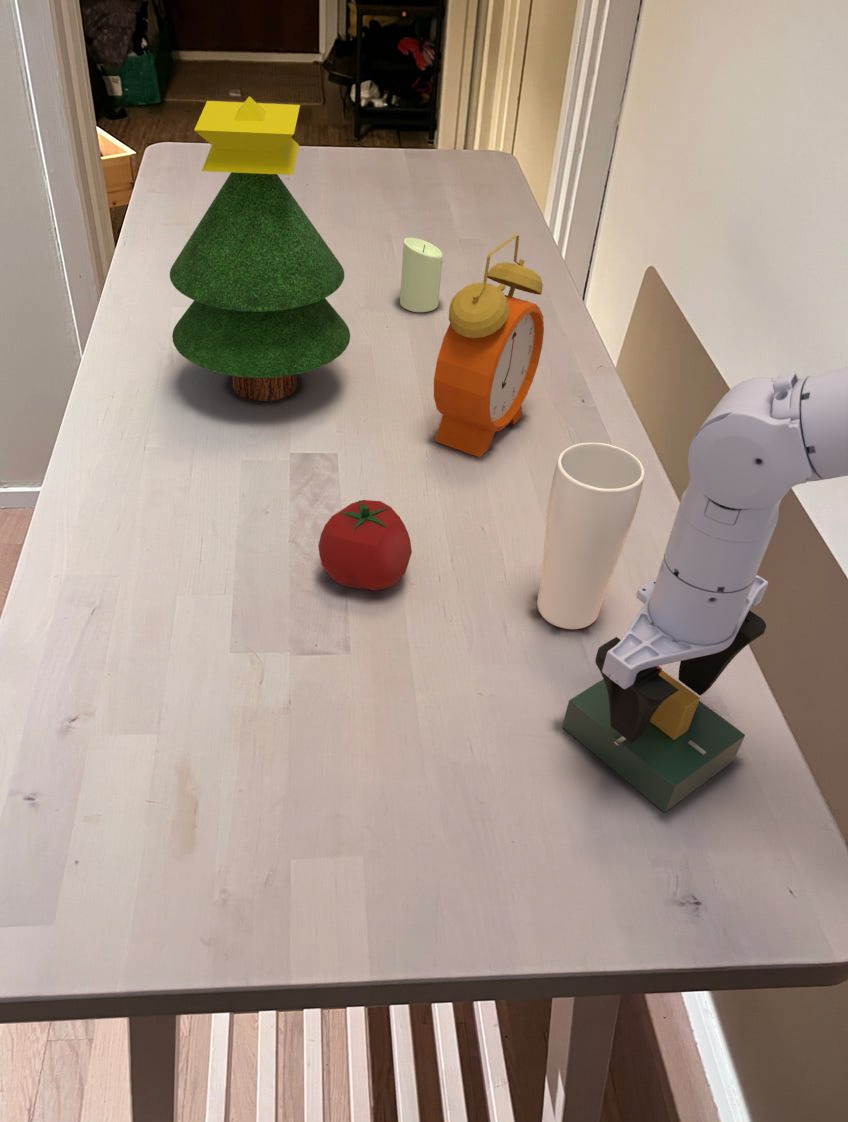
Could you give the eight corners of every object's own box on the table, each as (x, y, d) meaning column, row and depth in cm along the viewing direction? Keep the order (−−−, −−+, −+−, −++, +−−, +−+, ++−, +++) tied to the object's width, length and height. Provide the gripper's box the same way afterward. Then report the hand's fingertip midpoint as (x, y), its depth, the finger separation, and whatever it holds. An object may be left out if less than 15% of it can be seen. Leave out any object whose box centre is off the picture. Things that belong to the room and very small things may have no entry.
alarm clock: (478, 466, 102) (503, 276, 88) (425, 447, 104) (442, 259, 90) (533, 411, 110) (564, 230, 96) (484, 395, 112) (507, 216, 99)
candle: (434, 295, 131) (440, 233, 125) (441, 312, 127) (447, 249, 122) (397, 296, 130) (400, 233, 125) (402, 313, 127) (406, 249, 121)
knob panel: (737, 758, 74) (749, 730, 72) (660, 816, 70) (671, 788, 68) (634, 680, 80) (643, 652, 78) (558, 729, 76) (565, 701, 74)
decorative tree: (350, 347, 119) (358, 69, 99) (346, 433, 105) (354, 130, 85) (190, 341, 119) (165, 61, 99) (164, 426, 105) (128, 120, 85)
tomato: (306, 587, 87) (305, 520, 82) (345, 536, 92) (346, 471, 87) (390, 614, 85) (394, 548, 80) (424, 561, 90) (431, 496, 85)
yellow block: (688, 731, 72) (701, 695, 69) (673, 740, 71) (687, 705, 69) (639, 693, 75) (650, 658, 72) (625, 702, 74) (636, 667, 71)
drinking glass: (511, 604, 86) (538, 458, 76) (566, 576, 89) (599, 431, 79) (567, 649, 82) (603, 501, 72) (622, 618, 85) (665, 472, 75)
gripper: (728, 495, 69) (679, 637, 78) (585, 573, 62) (549, 718, 71) (817, 547, 65) (753, 690, 74) (674, 636, 58) (624, 782, 67)
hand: (658, 708), depth 72 cm, fingers open, 7 cm apart
